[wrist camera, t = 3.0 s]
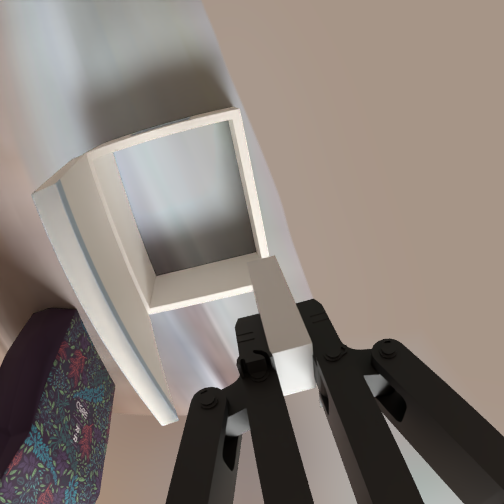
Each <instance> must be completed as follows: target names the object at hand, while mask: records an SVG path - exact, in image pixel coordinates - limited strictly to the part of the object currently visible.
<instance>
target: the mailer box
mask: <svg viewBox="0 0 504 504" xmlns="http://www.w3.org/2000/svg"><path fill="white" fill-rule="evenodd" d="M227 120H228V122H229V126H230V131H231V135H232V140H233V145H234V149H235V154H236V158H237V163H238V168H239V172H240V177H241V182H242V186H243V191H244V196H245V200H246V205H247V210H248V214H249V219H250V224H251V228H252V233H253V238H254V242H255V247H256V252H255V253H250V254H246V255H242V256H238V257H234V258H230V259H226V260H221V261H217V262H213V263H209V264H205V265H201V266H196V267H192V268H188V269H184V270H180V271H176V272H171V273H167V274H163V275H159V276H156V275H155V272H154V270H153V267H152V264H151V262H150V259H149V257H148V254H147V251H146V249H145V246H144V243H143V241H142V238H141V235H140V233H139V230H138V227H137V224H136V221H135V218H134V216H133V213H132V210H131V207H130V204H129V201H128V198H127V195H126V192H125V189H124V186H123V183H122V180H121V176H120V173H119V170H118V167H117V163H116V160H115V157H114V153H113V152H115V151H118V150H121V149H124V148H127V147H131V146H134V145H137V144H140V143H143V142H147V141H150V140H153V139H157V138H160V137H163V136H167V135H171V134H174V133H178V132H182V131H185V130H189V129H193V128H197V127H201V126H205V125H209V124H214V123H218V122H222V121H227ZM84 154H86V155H87V159H88V162H89V165H90V168H91V171H92V175H93V178H94V181H95V184H96V187H97V190H98V192H99V195H100V198H101V201H102V204H103V207H104V209H105V212H106V215H107V218H108V220H109V223H110V226H111V228H112V231H113V234H114V236H115V239H116V241H117V244H118V246H119V249H120V251H121V254H122V256H123V258H124V261H125V263H126V266H127V268H128V270H129V273H130V275H131V277H132V280H133V282H134V284H135V286H136V289H137V291H138V293H139V295H140V297H141V300H142V302H143V304H144V306H145V308H146V310H147V312H148V315H149V314H154V313H159V312H164V311H168V310H173V309H177V308H182V307H186V306H191V305H195V304H200V303H204V302H208V301H213V300H217V299H221V298H226V297H230V296H234V295H238V294H243V293H247V292H251V291H253V287H252V283H251V279H250V274H249V270H248V266H247V262H250V261H254V260H258V259H262V258H267V257H269V253H268V247H267V242H266V237H265V232H264V227H263V222H262V217H261V212H260V206H259V201H258V196H257V191H256V186H255V181H254V176H253V171H252V167H251V162H250V157H249V152H248V147H247V142H246V137H245V132H244V128H243V123H242V118H241V113H240V109H239V108H235V107H229V108H225V109H220V110H216V111H211V112H207V113H203V114H199V115H195V116H191V117H187V118H183V119H179V120H175V121H172V122H168V123H165V124H161V125H158V126H154V127H151V128H148V129H144V130H141V131H138V132H135V133H132V134H129V135H126V136H123V137H120V138H117V139H114V140H111V141H108V142H106V143H103V144H101V145H99V146H97V147H95V148H94V149H92V150H90V151H88V152H86V153H84ZM84 154H83V155H84Z"/></svg>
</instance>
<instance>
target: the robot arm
mask: <svg viewBox="0 0 504 504" xmlns="http://www.w3.org/2000/svg"><path fill="white" fill-rule="evenodd" d="M247 266H248V270H249V274H250V279H251V283H252V287H253V291H254V295H255V300H256V304H257V308H258V311H259V314H255V315H251V316H247V317H243V318H239V319H238V320H237V323H236V326H235V331H236V337H237V343H238V350H239V357H238V359H237V368H238V371H239V373H240V376H239V378H238V379H237V380H236V381H235V382H234V383H233V384H231V385H230V386H228V387H226V388H224V389H222V390H220V389H219V388H215V387H208V388H204V389H202V390H200V391H198V392H197V393H196V394H195V395H194V396H193V398H192V400H191V404H190V408H189V412H188V416H187V420H186V423H185V427H184V431H183V435H182V439H181V443H180V447H179V451H178V455H177V459H176V463H175V467H174V471H173V475H172V479H171V483H170V487H169V491H168V496H167V499H166V504H233V498H234V492H235V484H236V477H237V470H238V462H239V455H240V447H241V440H242V433H244V432H246V431H248V430H250V431H251V436H252V442H253V447H254V453H255V458H256V463H257V468H258V474H259V479H260V484H261V489H262V494H263V499H264V504H314V502H313V498H312V495H311V491H310V489H309V485H308V481H307V477H306V474H305V471H304V467H303V463H302V460H301V456H300V453H299V449H298V446H297V442H296V438H295V435H294V431H293V428H292V424H291V421H290V417H289V414H288V410H287V406H286V403H285V399H284V396H285V395H289V394H293V393H297V392H300V391H304V390H308V389H311V388H314V387H316V383H317V386H318V389H319V397H320V407H323V408H324V411H325V414H326V417H327V419H328V422H329V425H330V428H331V430H332V433H333V436H334V438H335V442H336V444H337V447H338V450H339V453H340V455H341V458H342V461H343V464H344V466H345V470H346V472H347V475H348V478H349V481H350V484H351V487H352V489H353V492H354V495H355V498H356V501H357V504H424V502H423V500H422V498H421V495H420V493H419V491H418V489H417V486H416V484H415V482H414V480H413V478H412V475H411V473H410V471H409V469H408V467H407V465H406V462H405V460H404V458H403V456H402V454H401V452H400V449H399V447H398V445H397V443H396V441H395V439H394V437H393V435H392V433H391V431H390V428H389V427H388V424H387V422H386V420H385V418H384V416H383V414H384V415H385V416H386V417H387V418H388V420H389V421H390V422H391V423H392V424H393V425H394V426H395V427H396V428H397V429H398V431H399V432H400V433H401V434H402V435H403V436H404V437H405V439H406V440H407V441H408V442H409V443H410V444H411V445H412V446H413V448H414V449H415V450H416V451H417V452H418V453H419V454H420V455H421V456H422V458H423V459H424V460H425V461H426V462H427V463H428V464H429V465H430V466H431V467H432V469H433V470H434V471H435V472H436V473H437V474H438V475H439V476H440V478H441V479H442V480H443V481H444V482H445V483H446V484H447V485H448V486H449V487H450V489H451V490H452V491H453V492H454V493H455V494H456V495H457V496H458V497H459V499H460V500H461V501H462V502H463V503H464V504H504V437H503V436H502V435H501V434H500V433H499V432H498V431H497V430H496V429H495V428H494V427H493V426H492V425H491V424H490V423H489V422H488V421H487V420H486V419H484V418H483V417H482V416H481V415H480V414H479V413H478V412H477V411H476V410H475V409H474V408H473V407H472V406H470V405H469V404H468V403H467V402H466V401H465V400H464V399H463V398H462V397H461V396H460V395H459V394H457V393H456V392H455V391H454V390H453V389H452V388H451V387H450V386H449V385H448V384H447V383H445V382H444V381H443V380H442V379H441V378H440V377H439V376H437V374H435V373H434V372H433V371H432V370H431V369H430V368H429V367H428V366H427V365H425V364H424V363H423V362H422V361H421V360H420V359H419V358H417V357H416V356H415V355H414V354H413V353H412V352H411V351H410V350H409V349H407V348H406V347H405V346H404V345H403V344H402V343H400V342H399V341H397V340H394V339H383V340H381V341H378V342H377V343H375V345H373V348H372V349H365V350H355V349H351V348H349V347H347V346H346V345H344V344H343V343H342V342H341V341H340V339H339V337H338V335H337V333H336V331H335V329H334V327H333V325H332V323H331V321H330V320H329V318H328V315H327V314H326V312H325V310H324V308H323V306H322V304H320V303H319V302H318V301H316V300H315V299H311V300H307V301H303V302H300V303H295V301H294V299H293V296H292V294H291V292H290V289H289V287H288V285H287V282H286V280H285V278H284V275H283V273H282V271H281V268H280V266H279V264H278V261H277V259H276V257H275V256H271V257H267V258H262V259H258V260H254V261H250V262H247ZM382 413H383V414H382Z"/></svg>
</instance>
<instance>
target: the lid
mask: <svg viewBox="0 0 504 504" xmlns="http://www.w3.org/2000/svg"><path fill="white" fill-rule="evenodd" d="M31 195H32V198H33V200H34V203H35V206H36V208H37V211H38V213H39V216H40V218H41V221H42V223H43V226H44V228H45V231H46V233H47V235H48V238H49V240H50V242H51V244H52V247H53V249H54V251H55V253H56V255H57V258H58V260H59V262H60V264H61V266H62V268H63V270H64V272H65V274H66V276H67V278H68V280H69V282H70V284H71V286H72V288H73V290H74V292H75V294H76V296H77V297H78V299H79V301H80V303H81V305H82V307H83V308H84V310H85V312H86V314H87V316H88V317H89V319H90V321H91V323H92V324H93V326H94V328H95V329H96V331H97V333H98V334H99V336H100V338H101V339H102V341H103V343H104V344H105V346H106V347H107V349H108V351H109V352H110V354H111V355H112V357H113V358H114V360H115V362H116V363H117V365H118V366H119V368H120V369H121V371H122V372H123V374H124V375H125V376H126V378H127V379H128V381H129V382H130V384H131V385H132V386H133V388H134V389H135V391H136V392H137V393H138V395H139V396H140V398H141V399H142V400H143V402H144V403H145V404H146V406H147V407H148V408H149V410H150V411H151V412H152V414H153V415H154V416H155V417H156V419H157V420H158V421H159V422H160V424H161V425H162V426H164V425H167V424H170V423H173V422H176V421H178V420H179V419H178V416H177V413H176V410H175V408H174V405H173V401H172V398H171V395H170V392H169V388H168V385H167V381H166V378H165V374H164V371H163V367H162V364H161V360H160V356H159V352H158V348H157V345H156V341H155V337H154V333H153V328H152V324H151V320H150V317H149V315H148V312H147V310H146V308H145V306H144V304H143V302H142V300H141V297H140V295H139V293H138V291H137V289H136V286H135V284H134V282H133V280H132V277H131V275H130V273H129V270H128V268H127V266H126V263H125V261H124V258H123V256H122V254H121V251H120V249H119V246H118V244H117V241H116V239H115V236H114V234H113V231H112V228H111V226H110V223H109V220H108V218H107V215H106V212H105V209H104V207H103V204H102V201H101V198H100V195H99V192H98V190H97V187H96V184H95V181H94V178H93V175H92V171H91V168H90V165H89V162H88V159H87V155H86V154H84V155H81V156H79V157H76V158H74V159H72V160H71V161H69V162H68V163H67V164H66V165H65V166H63V167H62V168H61V169H60V170H59V171H57V172H56V173H55V174H54V175H53V176H52V177H50V178H49V179H48V180H47V181H46V182H45V183H44V184H43V185H41V186H40V187H39V188H38V189H37V190H36V191H35V192H34V193H32V194H31Z"/></svg>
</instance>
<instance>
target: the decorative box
mask: <svg viewBox="0 0 504 504" xmlns="http://www.w3.org/2000/svg"><path fill="white" fill-rule="evenodd" d="M114 391H115V384H114V383H113V381H112V379H111V377H110V376H109V374H108V372H107V370H106V368H105V366H104V365H103V363H102V361H101V359H100V357H99V355H98V353H97V351H96V349H95V347H94V345H93V343H92V341H91V339H90V337H89V335H88V333H87V331H86V329H85V327H84V325H83V322H82V320H81V318H80V316H79V314H78V311H77V310H76V309H59V308H49V309H46V310H43V311H40V312H37V313H34V314H33V315H32V316H31V318H30V319H29V320H28V322H27V323H26V325H25V326H24V328H23V329H22V331H21V332H20V334H19V335H18V337H17V338H16V340H15V341H14V343H13V344H12V346H11V347H10V349H9V350H8V352H7V354H6V355H5V357H4V360H3V362H2V364H1V367H0V504H95V502H96V500H97V498H98V496H99V493H100V487H101V480H102V473H103V466H104V460H105V454H106V448H107V443H108V437H109V429H110V420H111V413H112V405H113V398H114Z"/></svg>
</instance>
